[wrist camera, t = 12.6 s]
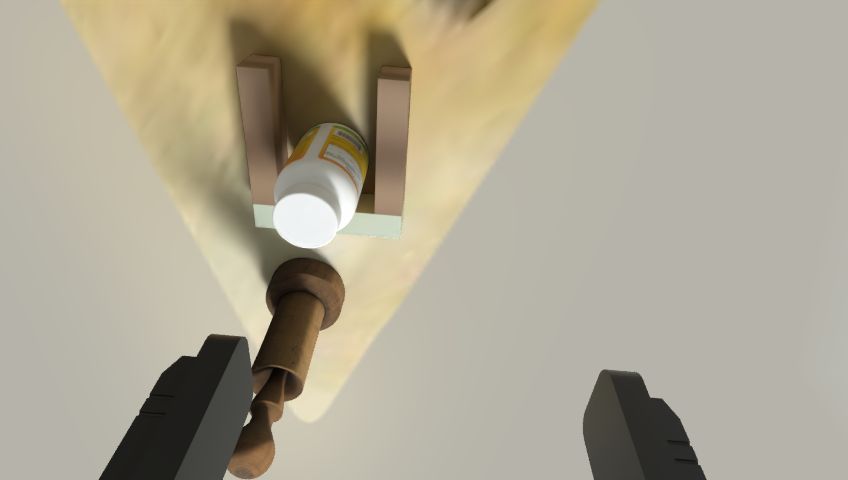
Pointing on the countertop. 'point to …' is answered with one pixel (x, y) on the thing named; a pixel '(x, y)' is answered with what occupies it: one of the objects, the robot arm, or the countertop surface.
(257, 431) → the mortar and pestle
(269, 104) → the slot holder
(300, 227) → the supplement bottle
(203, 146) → the countertop surface
